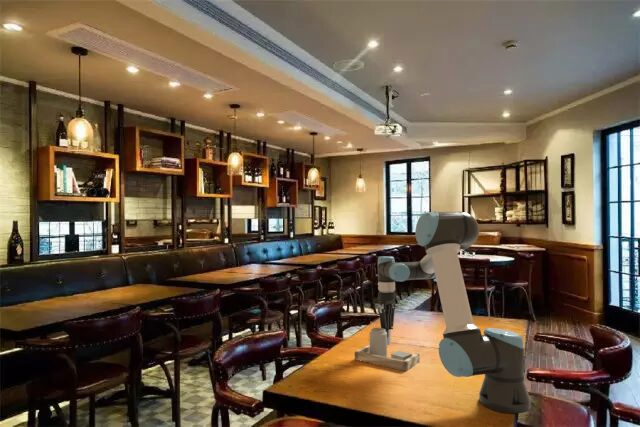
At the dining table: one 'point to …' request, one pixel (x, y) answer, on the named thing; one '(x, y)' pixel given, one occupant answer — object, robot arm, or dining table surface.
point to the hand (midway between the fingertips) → (387, 344)
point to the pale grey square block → (401, 355)
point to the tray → (386, 359)
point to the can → (378, 342)
